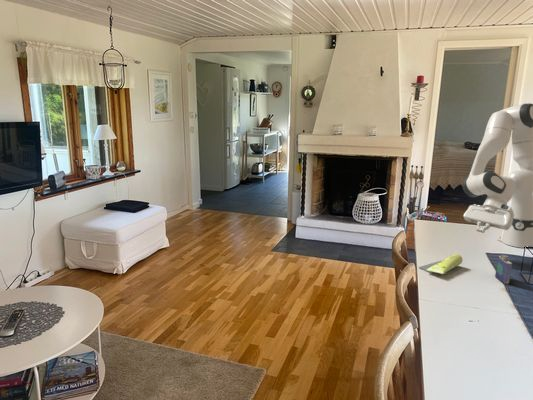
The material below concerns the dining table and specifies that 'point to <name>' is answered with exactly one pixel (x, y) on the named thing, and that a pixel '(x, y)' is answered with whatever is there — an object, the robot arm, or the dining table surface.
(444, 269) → the tube
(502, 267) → the blue purple box
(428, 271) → the felt mat
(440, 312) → the dining table surface
